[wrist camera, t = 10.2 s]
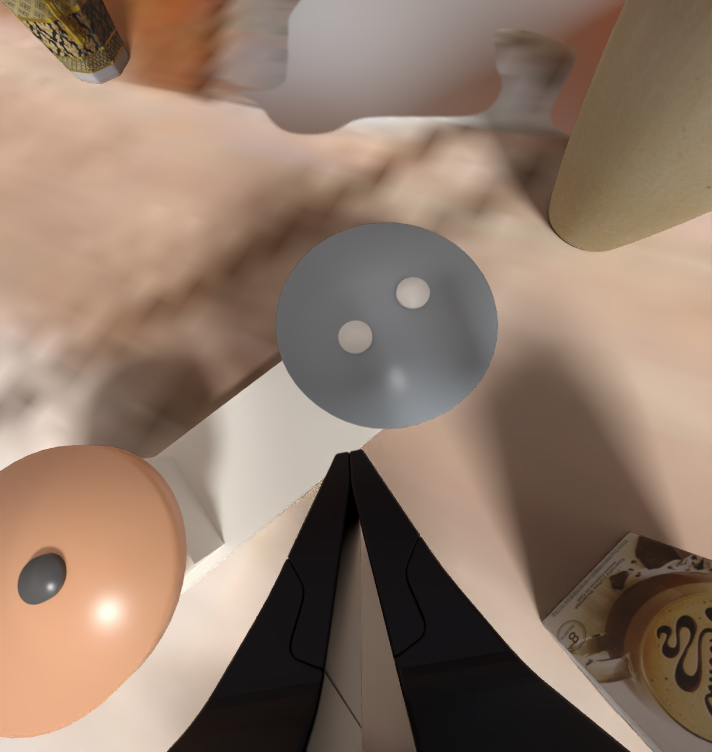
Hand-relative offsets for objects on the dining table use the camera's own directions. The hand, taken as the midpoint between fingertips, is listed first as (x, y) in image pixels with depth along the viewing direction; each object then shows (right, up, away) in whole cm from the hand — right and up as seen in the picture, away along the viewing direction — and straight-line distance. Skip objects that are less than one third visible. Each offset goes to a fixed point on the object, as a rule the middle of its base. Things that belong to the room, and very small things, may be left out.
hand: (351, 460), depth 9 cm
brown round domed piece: (-14, -8, +10) cm, 19 cm away
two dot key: (+2, +5, +13) cm, 13 cm away
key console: (-6, -2, +14) cm, 15 cm away
